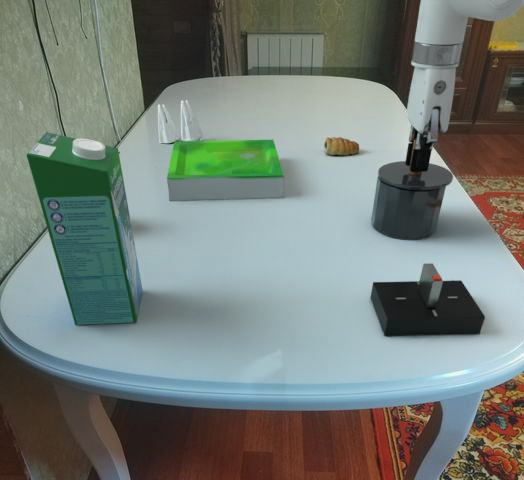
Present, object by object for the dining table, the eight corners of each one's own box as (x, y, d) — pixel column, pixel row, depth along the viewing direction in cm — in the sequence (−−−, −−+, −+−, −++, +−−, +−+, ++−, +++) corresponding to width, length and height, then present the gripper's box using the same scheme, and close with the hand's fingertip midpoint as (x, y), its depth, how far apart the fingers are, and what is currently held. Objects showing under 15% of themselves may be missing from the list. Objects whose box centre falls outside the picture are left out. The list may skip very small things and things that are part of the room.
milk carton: (136, 322, 76) (103, 151, 60) (74, 325, 75) (25, 153, 59) (142, 290, 83) (114, 129, 67) (86, 292, 82) (44, 130, 66)
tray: (176, 161, 130) (174, 141, 127) (273, 159, 131) (273, 139, 128) (169, 200, 111) (166, 178, 108) (283, 197, 112) (283, 175, 109)
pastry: (356, 148, 139) (357, 133, 136) (361, 156, 133) (362, 141, 131) (322, 148, 138) (323, 134, 136) (325, 157, 133) (327, 142, 131)
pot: (425, 211, 106) (435, 166, 100) (444, 239, 97) (456, 190, 91) (365, 212, 106) (372, 167, 100) (378, 240, 96) (386, 191, 90)
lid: (438, 166, 101) (446, 128, 96) (462, 192, 90) (472, 151, 86) (370, 167, 100) (375, 129, 96) (386, 194, 90) (392, 153, 85)
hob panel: (456, 296, 81) (461, 279, 79) (480, 333, 73) (486, 316, 71) (370, 298, 81) (373, 281, 79) (384, 336, 73) (387, 318, 71)
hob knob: (417, 289, 77) (423, 261, 74) (426, 289, 77) (433, 261, 74) (426, 307, 73) (433, 279, 70) (436, 307, 73) (443, 279, 70)
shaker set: (203, 141, 143) (200, 98, 136) (200, 146, 140) (197, 102, 133) (163, 139, 145) (158, 97, 138) (158, 144, 142) (153, 101, 135)
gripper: (477, 63, 76) (450, 183, 88) (443, 46, 89) (423, 153, 100) (427, 64, 76) (407, 184, 88) (400, 47, 89) (386, 154, 100)
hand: (416, 167), depth 94 cm, fingers closed on lid, 2 cm apart
